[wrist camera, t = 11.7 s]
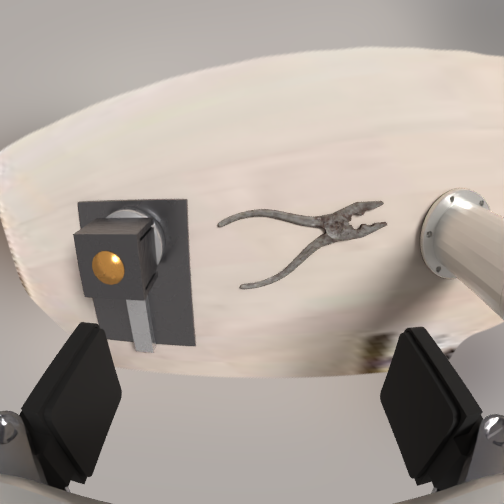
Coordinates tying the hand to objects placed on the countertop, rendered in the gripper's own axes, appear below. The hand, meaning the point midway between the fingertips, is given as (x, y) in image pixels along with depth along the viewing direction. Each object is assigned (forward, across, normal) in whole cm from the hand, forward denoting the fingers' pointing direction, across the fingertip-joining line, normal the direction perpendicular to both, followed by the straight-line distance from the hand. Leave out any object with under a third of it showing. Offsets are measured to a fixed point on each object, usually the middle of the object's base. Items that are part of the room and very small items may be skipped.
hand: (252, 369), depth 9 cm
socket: (+26, +14, +6) cm, 30 cm away
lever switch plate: (+28, +14, +11) cm, 33 cm away
